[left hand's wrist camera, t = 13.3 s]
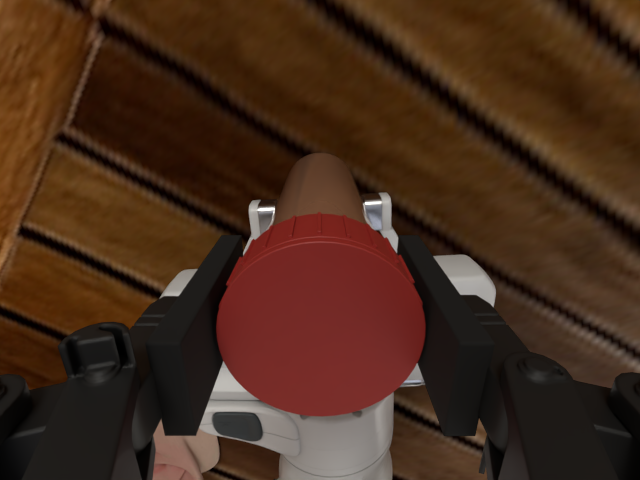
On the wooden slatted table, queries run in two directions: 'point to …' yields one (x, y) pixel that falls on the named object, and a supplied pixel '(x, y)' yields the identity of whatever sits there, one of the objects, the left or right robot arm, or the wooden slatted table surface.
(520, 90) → the wooden slatted table surface
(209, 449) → the anatomical model
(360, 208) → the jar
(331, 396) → the lid
